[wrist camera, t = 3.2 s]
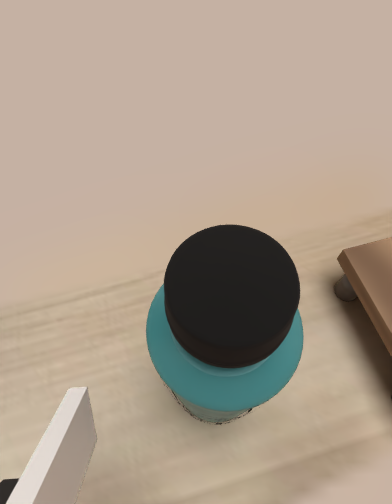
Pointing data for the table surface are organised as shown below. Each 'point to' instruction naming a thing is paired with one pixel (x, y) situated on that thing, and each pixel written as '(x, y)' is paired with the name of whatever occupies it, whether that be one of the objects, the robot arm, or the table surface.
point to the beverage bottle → (226, 322)
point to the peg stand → (370, 283)
